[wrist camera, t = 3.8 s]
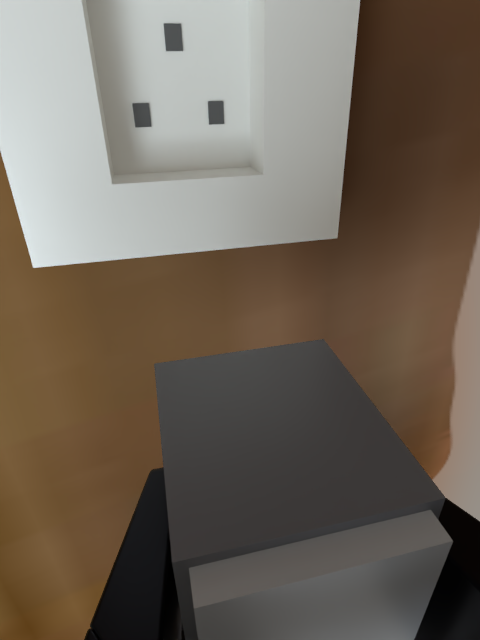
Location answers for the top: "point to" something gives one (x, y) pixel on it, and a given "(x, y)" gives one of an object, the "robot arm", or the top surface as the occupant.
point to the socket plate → (174, 123)
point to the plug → (292, 501)
